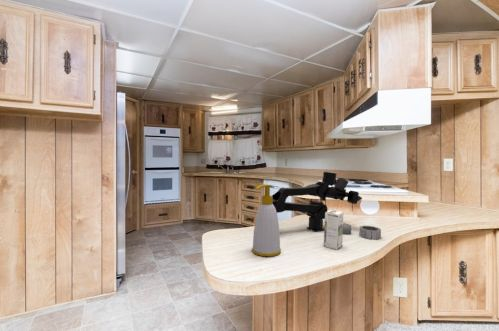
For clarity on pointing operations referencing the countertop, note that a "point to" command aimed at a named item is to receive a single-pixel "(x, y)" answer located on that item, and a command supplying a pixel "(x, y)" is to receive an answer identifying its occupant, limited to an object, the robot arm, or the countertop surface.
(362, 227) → the grey ribbed ring
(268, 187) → the soap bottle
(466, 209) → the countertop surface
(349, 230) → the cap
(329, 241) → the syrup box
